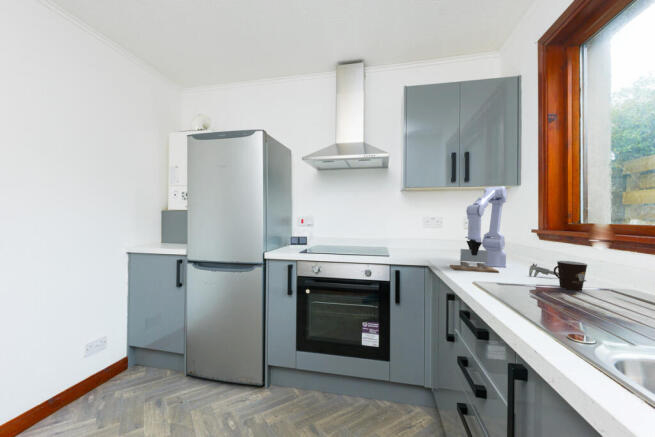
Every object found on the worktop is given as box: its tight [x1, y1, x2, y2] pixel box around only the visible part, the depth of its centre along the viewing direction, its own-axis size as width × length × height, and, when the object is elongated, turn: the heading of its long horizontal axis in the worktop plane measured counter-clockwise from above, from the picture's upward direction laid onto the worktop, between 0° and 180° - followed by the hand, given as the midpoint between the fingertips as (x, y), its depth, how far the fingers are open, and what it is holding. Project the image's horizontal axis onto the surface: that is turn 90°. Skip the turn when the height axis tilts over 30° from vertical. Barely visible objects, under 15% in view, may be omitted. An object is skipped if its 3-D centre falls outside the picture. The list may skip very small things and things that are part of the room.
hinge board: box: [449, 261, 500, 274], centre depth 137 cm, size 20×10×3 cm, turn 78°
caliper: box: [528, 263, 587, 282], centre depth 121 cm, size 20×1×6 cm, turn 67°
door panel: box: [459, 248, 488, 263], centre depth 137 cm, size 12×2×6 cm, turn 78°
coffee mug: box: [553, 260, 588, 292], centre depth 104 cm, size 12×9×10 cm
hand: (473, 255), depth 137 cm, fingers closed on door panel, 2 cm apart
